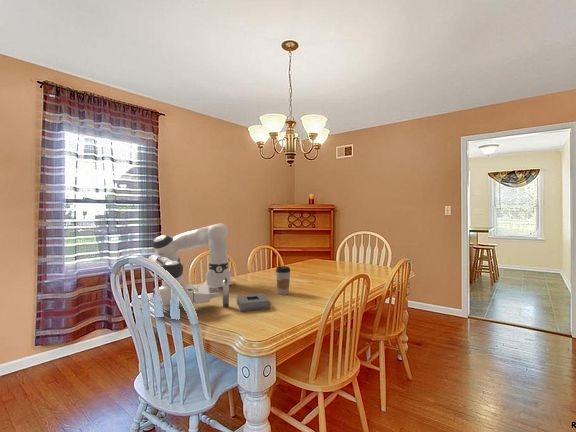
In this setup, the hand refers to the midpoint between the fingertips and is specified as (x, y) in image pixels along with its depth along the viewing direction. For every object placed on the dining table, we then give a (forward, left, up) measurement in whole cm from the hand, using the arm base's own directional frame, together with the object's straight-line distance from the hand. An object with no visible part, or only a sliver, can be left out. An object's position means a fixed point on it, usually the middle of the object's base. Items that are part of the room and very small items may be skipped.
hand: (218, 291), depth 152 cm
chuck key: (0, +3, -8) cm, 9 cm away
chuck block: (+3, +16, -8) cm, 18 cm away
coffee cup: (-15, +37, -8) cm, 41 cm away
